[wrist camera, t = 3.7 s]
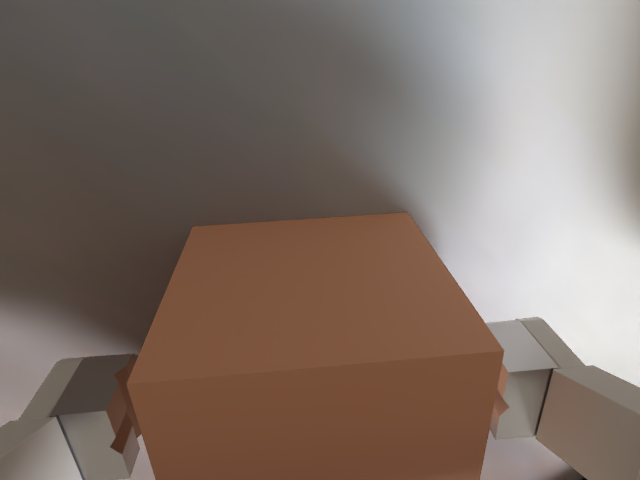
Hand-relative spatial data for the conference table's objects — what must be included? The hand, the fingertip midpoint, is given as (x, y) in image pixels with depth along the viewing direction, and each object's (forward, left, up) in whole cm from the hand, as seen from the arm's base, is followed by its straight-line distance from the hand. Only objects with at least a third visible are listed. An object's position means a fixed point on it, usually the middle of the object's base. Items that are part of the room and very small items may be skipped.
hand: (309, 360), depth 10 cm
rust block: (0, 0, -2) cm, 2 cm away
